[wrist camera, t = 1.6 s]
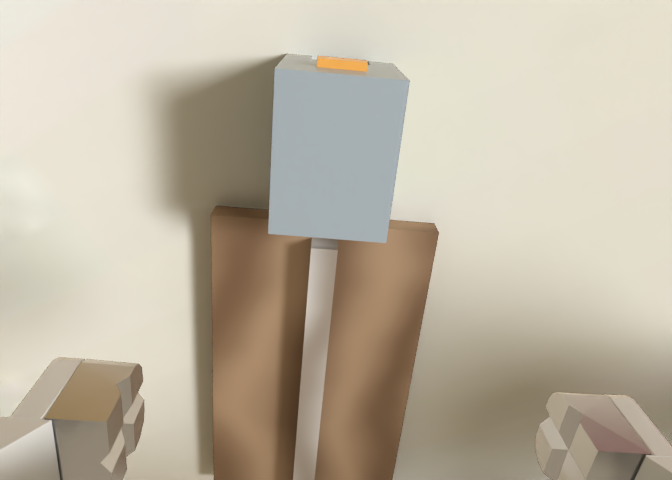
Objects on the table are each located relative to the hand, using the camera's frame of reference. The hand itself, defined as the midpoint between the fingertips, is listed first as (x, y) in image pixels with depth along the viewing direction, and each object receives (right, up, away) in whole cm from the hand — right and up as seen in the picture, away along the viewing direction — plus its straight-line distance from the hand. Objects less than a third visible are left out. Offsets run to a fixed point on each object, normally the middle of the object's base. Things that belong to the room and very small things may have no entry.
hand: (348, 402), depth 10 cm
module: (0, +10, +21) cm, 23 cm away
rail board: (-2, -6, +28) cm, 28 cm away
